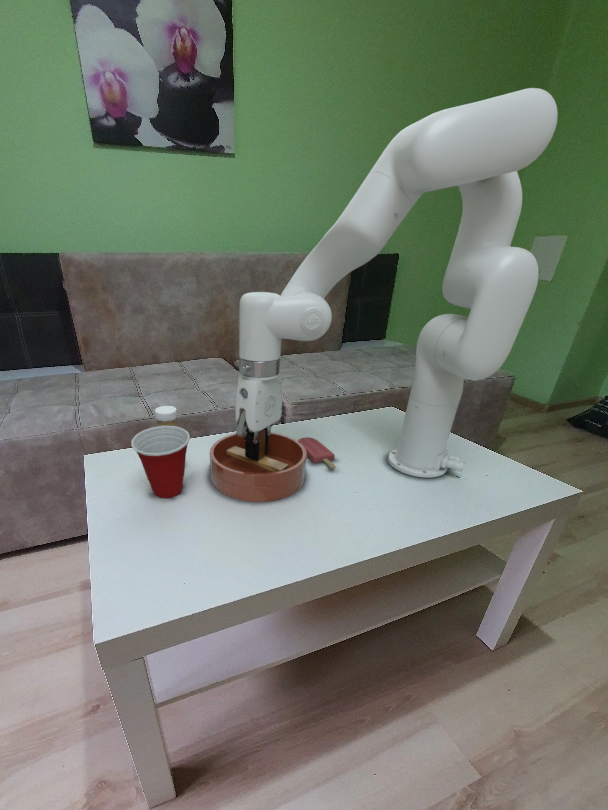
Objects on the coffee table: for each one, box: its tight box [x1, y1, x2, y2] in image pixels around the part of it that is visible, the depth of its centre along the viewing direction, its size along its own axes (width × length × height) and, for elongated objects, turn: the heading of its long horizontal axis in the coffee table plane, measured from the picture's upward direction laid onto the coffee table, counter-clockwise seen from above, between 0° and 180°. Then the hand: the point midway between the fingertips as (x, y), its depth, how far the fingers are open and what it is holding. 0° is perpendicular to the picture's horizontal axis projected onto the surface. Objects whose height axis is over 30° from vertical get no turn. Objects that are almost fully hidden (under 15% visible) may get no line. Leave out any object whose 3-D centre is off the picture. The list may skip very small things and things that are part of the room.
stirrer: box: [226, 430, 288, 472], centre depth 80 cm, size 14×3×7 cm, turn 53°
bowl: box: [209, 431, 307, 503], centre depth 82 cm, size 20×20×6 cm
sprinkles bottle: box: [154, 405, 179, 427], centre depth 83 cm, size 5×5×13 cm
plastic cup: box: [130, 426, 191, 499], centre depth 75 cm, size 11×11×12 cm
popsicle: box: [297, 436, 336, 469], centre depth 91 cm, size 5×2×15 cm
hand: (256, 454), depth 81 cm, fingers closed on stirrer, 2 cm apart
